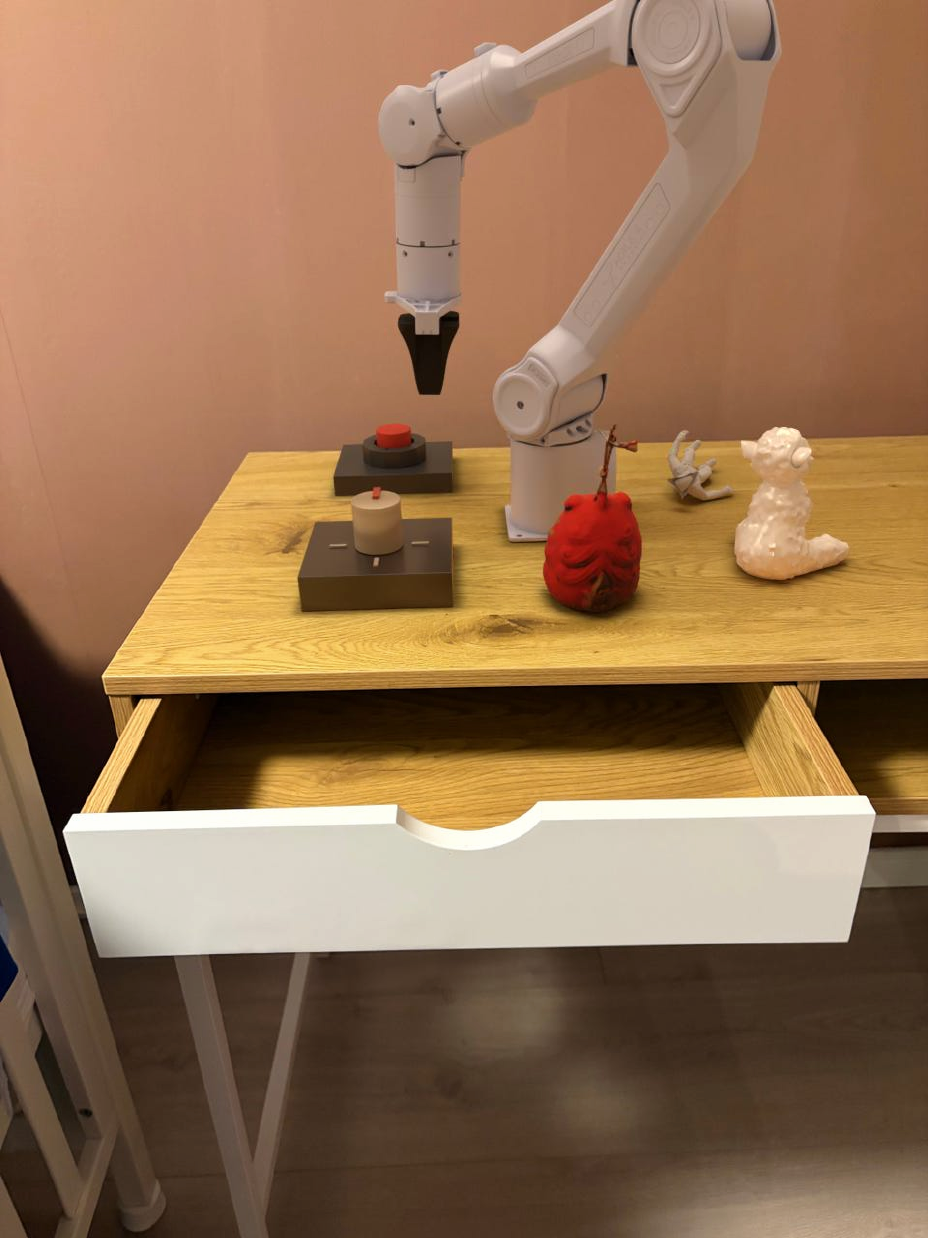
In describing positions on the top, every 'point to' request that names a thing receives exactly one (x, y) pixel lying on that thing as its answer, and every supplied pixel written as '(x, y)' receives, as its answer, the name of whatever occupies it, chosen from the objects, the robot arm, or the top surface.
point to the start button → (393, 436)
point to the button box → (395, 468)
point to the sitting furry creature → (782, 512)
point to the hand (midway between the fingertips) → (429, 392)
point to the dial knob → (377, 522)
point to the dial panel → (378, 569)
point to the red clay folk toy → (595, 546)
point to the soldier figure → (691, 472)
